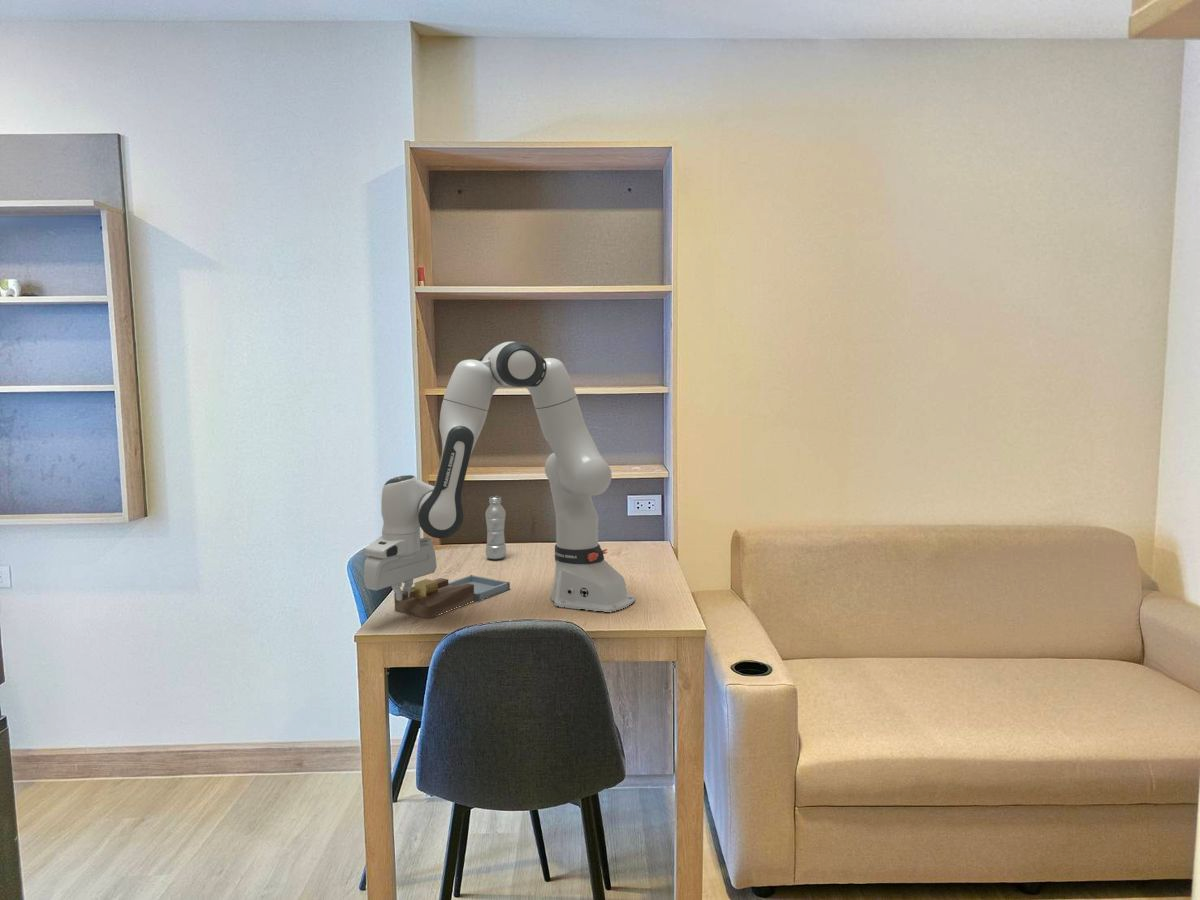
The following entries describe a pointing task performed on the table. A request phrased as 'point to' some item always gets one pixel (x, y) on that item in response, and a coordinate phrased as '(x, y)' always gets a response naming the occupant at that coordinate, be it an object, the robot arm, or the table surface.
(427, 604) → the slotted board
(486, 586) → the tray
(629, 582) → the table surface
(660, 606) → the table surface
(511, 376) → the robot arm
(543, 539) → the table surface
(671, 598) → the table surface
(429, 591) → the brass block
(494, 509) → the plastic bottle
